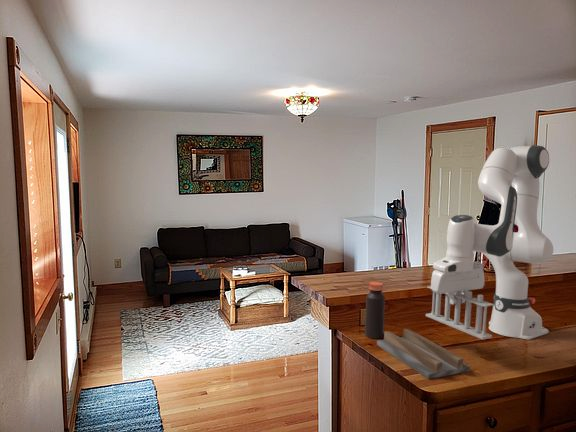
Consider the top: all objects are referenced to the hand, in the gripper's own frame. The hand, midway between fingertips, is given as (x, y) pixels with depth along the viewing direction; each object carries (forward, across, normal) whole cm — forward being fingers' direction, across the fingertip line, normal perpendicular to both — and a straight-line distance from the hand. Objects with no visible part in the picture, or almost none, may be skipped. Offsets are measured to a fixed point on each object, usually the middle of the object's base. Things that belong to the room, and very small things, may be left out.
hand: (457, 303), depth 157 cm
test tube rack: (+8, 0, 0) cm, 8 cm away
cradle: (+17, +15, 0) cm, 22 cm away
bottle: (+17, +19, -22) cm, 33 cm away
